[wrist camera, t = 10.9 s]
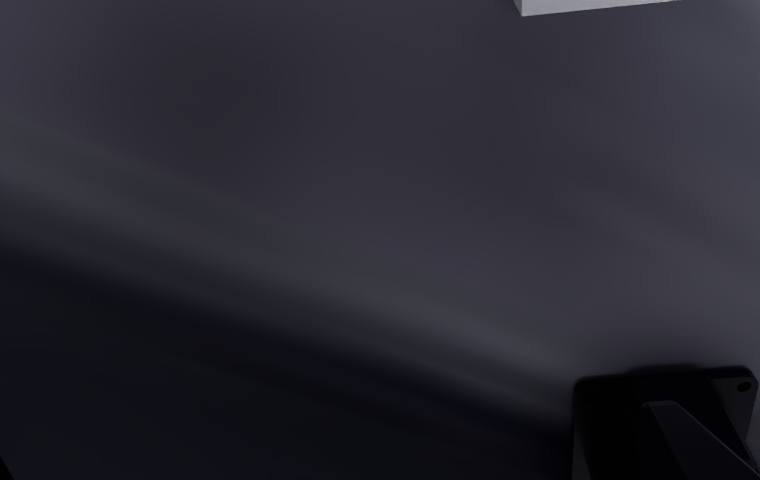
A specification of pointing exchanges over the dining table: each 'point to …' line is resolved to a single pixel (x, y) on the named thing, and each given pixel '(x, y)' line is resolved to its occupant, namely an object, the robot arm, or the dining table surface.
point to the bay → (571, 5)
